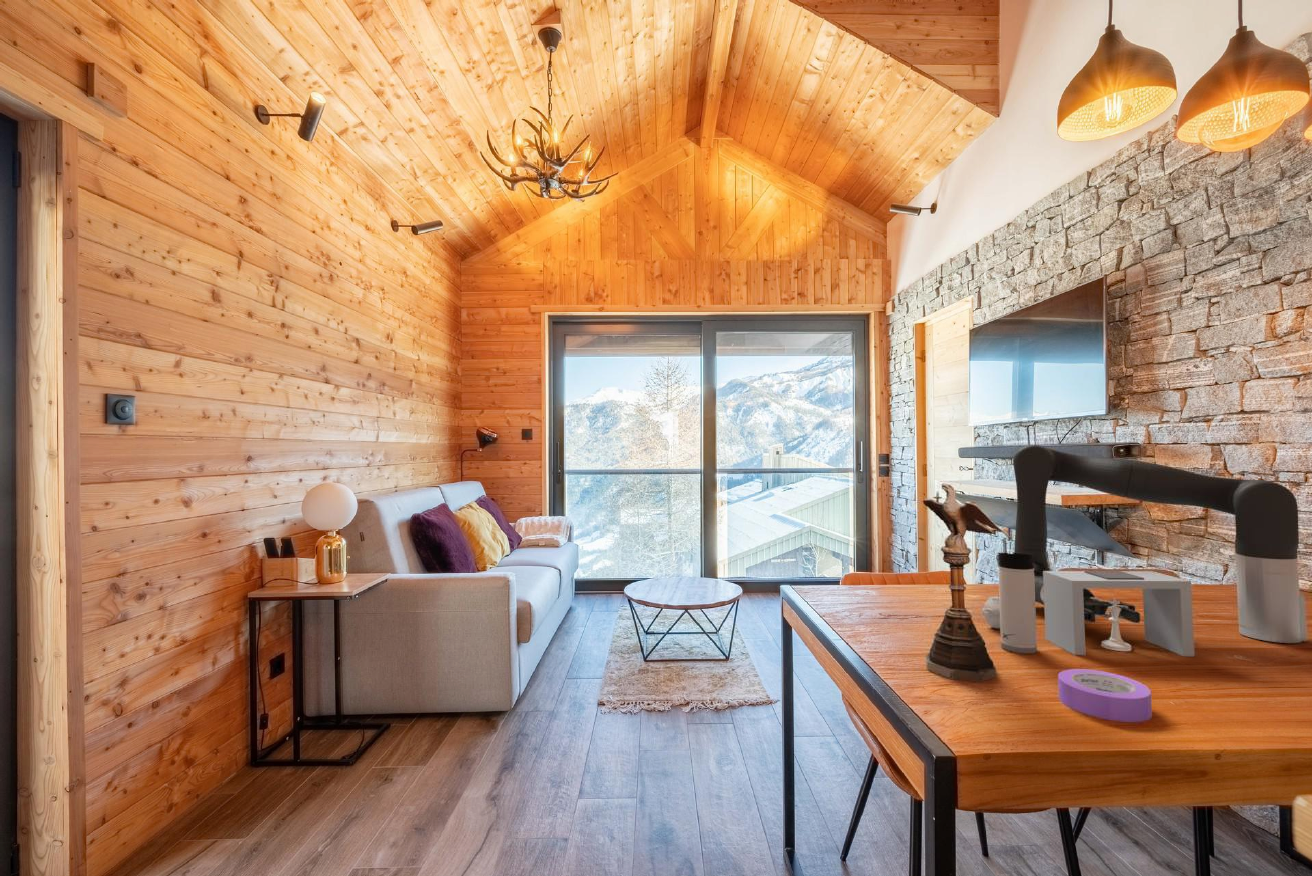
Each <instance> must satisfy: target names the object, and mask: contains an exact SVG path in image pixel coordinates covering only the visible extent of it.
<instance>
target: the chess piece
mask: <svg viewBox="0 0 1312 876" xmlns="http://www.w3.org/2000/svg"><path fill="white" fill-rule="evenodd" d="M1112 600H1113V601H1111V600H1108V601H1109V603H1110V604H1113V606H1110V607H1109V609H1108V610H1109V614H1110V613H1111V615H1112V618H1108V621H1110V622H1111V633H1110V637H1108V639H1105V640H1102V641H1101V647H1102V648H1105V649H1108V650H1112V651H1117V652H1131V651H1133V650H1132V646H1131V644H1130V643H1127V642H1125V641H1124V639H1122V636H1121V632H1120V626H1119V625H1120V624H1119V623H1120V622H1123V621H1122V618H1118V616H1119V613H1120V611H1121V608H1119V607H1117V606H1116V604H1120V602H1119V601H1120V600H1117V598H1116V597H1112ZM1116 600H1117V601H1116Z"/></svg>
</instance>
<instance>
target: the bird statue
mask: <svg viewBox="0 0 1312 876" xmlns="http://www.w3.org/2000/svg"><path fill="white" fill-rule="evenodd" d="M941 490H943V491H944V492H945V494H946V498H945V500H944V502H940V501H939V500H940V499H943V497H942V496H940V494H939V493H940V492H939V491H936V496H933V497H932V498H933V499H932V498H925V499H923V500H922V504H923V505H924V506H925V507H927V508H928V509H929V510H930V511H932V512H933V513H934V514H935V515H936V516H937V517H938V518H939V520H941V521H943V523H944V525H945V527H946V528H947V530H948V531H950V534H949V535H947V537H946V538H945V540H944V545H945V546H941V548H940V551H941V552H942V553H943V556H942V557H943V558H942V560H943V562H945V563H946V564H948V565H949V566H948V567H949V569H950V571H949V572H950V573H949V574H950V575H949V576H950V584H949V585H948V588H949V589H950V592H951V594H950V595H951V606H949V608H947V609H946V611H945V612H944V617H943V620H942V622H941V623H940V626H939V628H938V629H936V633H935V634H933V636H934V639H933V643H931V647H930V649H929V653H925V658H924V659H925V665H926V669H927V671H930V672H933V673H935V674H937V675H941V676H943V677H946V678H948V679H951V680H961V681H969V682H983V681H987V680H991V679H992V680H993V679H995V678H997V668H996V665H994V661H993V659H992V658H991V657H990V655H989V653H988V650H987V647H986V641H985V640H984V638H983V636H982V635H981V632H979V631H978V630H977V628H976V625H975V624H974V622H973V619H972V618H973V615H972V614H971V613H970V611H969V610H967V609H966V606H965V591H966V590H967V588H966V586H965V581H964V569H965V567H964V566H965V565H967V564H969V563H971V560H970V559H971V558H970V554H971V553H972V549H971V548H969V547H968V544H967V542H966V540H965V538H964V537H965V535H966V533H967V532H969V533H970V532H972V533H978V534H981V533H982V534H992V535H996V533H997V532H1000V533H1003V534H1004V536H1006V537H1007V538H1009V540H1012V537H1011V536H1010V535H1009V531H1010V529H1009V528H1008V527H1007V526H1000V525H999V526H998V525H997V524H996V523H995V522H993V521H992V520H991V518H989V516H988V515H987V514H986V513H985V512H984V511H983V509H982V508H981V507H980V506H979V505H978V504H977V503H976V502H975V501H974V502H973V501H970V500H969V501H965V502H964V504H963V503H962V504H961V503H959V502H958V501H957V497H956V493H957V492H956V490H955V489H954V487H953V486H952V484H951V485H950V484H947V483H942V484H941ZM934 499H935V500H934Z"/></svg>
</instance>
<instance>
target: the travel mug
mask: <svg viewBox="0 0 1312 876" xmlns="http://www.w3.org/2000/svg"><path fill="white" fill-rule="evenodd" d="M997 554H998V555H997V558H998V559H997V560H998V566H997V567H998V571H997V572H998V591H999V592H998V593H999V594H998V595H999V596H998V597H999V600H1000V629H999V630H1000V646H1001V648H1002V649H1004V650H1005V651H1008V652H1010V653H1015V654H1023V655H1031V654H1035V653H1037V652H1038V644H1037V643H1038V641H1037V639H1038V638H1037V635H1038V634H1037V617H1036V616H1037V614H1036V612H1037V611H1036V610H1037V609H1036V608H1037V607H1036V602H1035V579H1034V565H1033V563H1034V561H1033V554H1023V553H1016V552H1014V551H1013V552H1012V553H1009V552H998V553H997Z"/></svg>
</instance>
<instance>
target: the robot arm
mask: <svg viewBox="0 0 1312 876" xmlns="http://www.w3.org/2000/svg"><path fill="white" fill-rule="evenodd" d="M1016 451H1017V452H1016V453H1015V454H1014V456H1013V459H1012V466H1013V471H1014V476H1015V484H1016V498H1017V499H1016V500H1017V501H1016V519H1015V532H1014V549H1013V550H1014V551H1013V552H1016V553H1023V554H1033V561H1034V563H1033V565H1034V579H1035V603H1039V604H1041V605H1043V606H1044V584H1043V571H1051V570H1050V566H1049V563H1048V558H1047V557H1048V556H1047V548H1048V547H1047V546H1048V544H1047V543H1048V523H1047V509H1046V508H1047V507H1046V504H1047V503H1046V501H1047V500H1046V499H1047V491H1048V485H1049V482H1058V483H1059V482H1060V483H1067V484H1075V485H1078V486H1082V487H1086V488H1088V489H1092V490H1094V491H1098V492H1102V493H1104V494H1108V495H1112V496H1116V497H1120V498H1124V499H1125V498H1126V499H1131V500H1134V501H1141V502H1147V503H1155V504H1163V505H1176V506H1191V507H1201V508H1205V509H1210V510H1214V511H1218V512H1221V513H1226V514H1228V515H1229V514H1230V515H1234V517H1235V518H1234V519H1235V521H1234V522H1235V523H1234V524H1235V537H1234V538H1235V540H1234V549H1235V550H1234V552H1235V553H1234V555H1235V572H1236V593H1237V594H1236V595H1237V613H1238V614H1237V616H1238V631H1239V632H1238V633H1239V634H1241V635H1242V636H1245V637H1247V638H1248V637H1249V638H1251V639H1255V640H1262V641H1266V642H1273V643H1281V644H1282V643H1284V644H1299V643H1302V642H1308V632H1307V631H1308V629H1307V628H1308V627H1307V614H1306V613H1307V612H1306V597H1305V594H1302V593H1300V578H1299V563H1298V561H1299V560H1298V558H1299V557H1298V548H1299V544H1300V536H1299V534H1300V532H1299V530H1300V529H1299V508H1298V507H1299V505H1298V501H1297V499H1296V496H1295V495H1294V493H1293V492H1292V490H1290V489H1289V488H1287V487H1286V486H1284V485H1282V484H1280V483H1277V482H1273V481H1271V480H1270V481H1269V480H1264V479H1263V480H1261V479H1240V478H1231V477H1230V478H1229V477H1228V478H1227V477H1219V476H1210V475H1205V474H1201V473H1196V472H1193V471H1192V472H1191V471H1188V470H1186V469H1182V468H1181V469H1180V468H1177V467H1172V466H1168V465H1162V464H1159V463H1153V462H1147V461H1140V460H1134V459H1127V458H1126V459H1125V458H1117V457H1116V458H1114V457H1103V456H1102V457H1098V456H1083V455H1078V454H1072V453H1069V452H1068V453H1067V452H1063V451H1060V450H1055V449H1052V448H1049V447H1045V446H1042V445H1038V444H1037V445H1036V444H1029V445H1025V446H1023V447H1021V448H1020V449H1018V450H1016ZM1083 601H1084V621H1086V622H1088V623H1095V622H1096V618H1099V617H1100V618H1106V619H1109V618H1112V615H1111V613H1110V612H1109V613H1107V610H1109V607H1110V606H1113V604H1110V603H1109V601H1113V599H1110V600H1105V599H1100V597H1096V596H1095V595H1094V593H1093V592H1092V591H1091V590H1089V589H1083ZM1116 601H1119V602H1120V604H1116V606H1117V607H1119V608H1121V611H1120V613H1119V616H1118V618H1119V619H1124V620H1127V621H1129V622H1132V623H1134V624H1140V621H1141V614H1140V613H1139V612H1138V611H1136V606H1135V605H1134V604H1129V603H1126V602H1123V601H1121V600H1117V599H1116Z"/></svg>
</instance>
